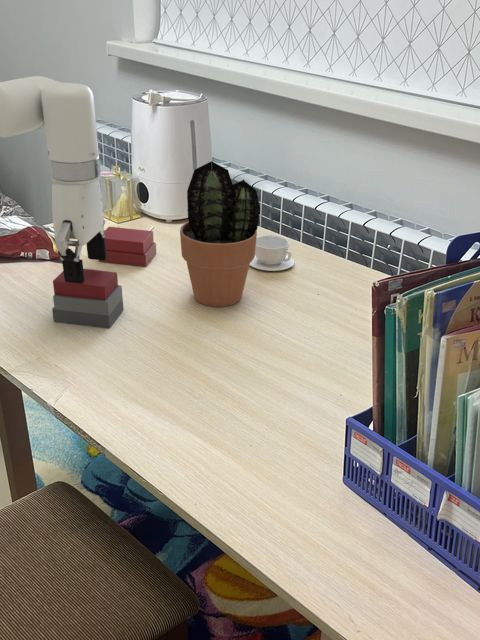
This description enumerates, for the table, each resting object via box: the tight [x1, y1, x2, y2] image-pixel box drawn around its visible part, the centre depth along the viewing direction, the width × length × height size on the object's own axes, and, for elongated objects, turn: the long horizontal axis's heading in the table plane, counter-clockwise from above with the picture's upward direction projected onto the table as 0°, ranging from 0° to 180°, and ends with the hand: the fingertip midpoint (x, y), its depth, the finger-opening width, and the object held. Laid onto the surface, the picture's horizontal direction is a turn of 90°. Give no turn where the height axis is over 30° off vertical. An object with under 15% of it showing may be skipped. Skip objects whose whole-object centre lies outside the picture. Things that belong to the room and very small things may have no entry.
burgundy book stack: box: [98, 226, 157, 268], centre depth 142 cm, size 10×7×5 cm
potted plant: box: [179, 160, 261, 307], centre depth 123 cm, size 14×14×25 cm
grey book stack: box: [51, 284, 124, 329], centre depth 119 cm, size 10×7×5 cm
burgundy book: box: [52, 268, 119, 300], centre depth 117 cm, size 9×6×2 cm, turn 81°
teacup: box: [249, 234, 295, 272], centre depth 142 cm, size 10×10×5 cm
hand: (86, 270), depth 116 cm, fingers open, 9 cm apart
